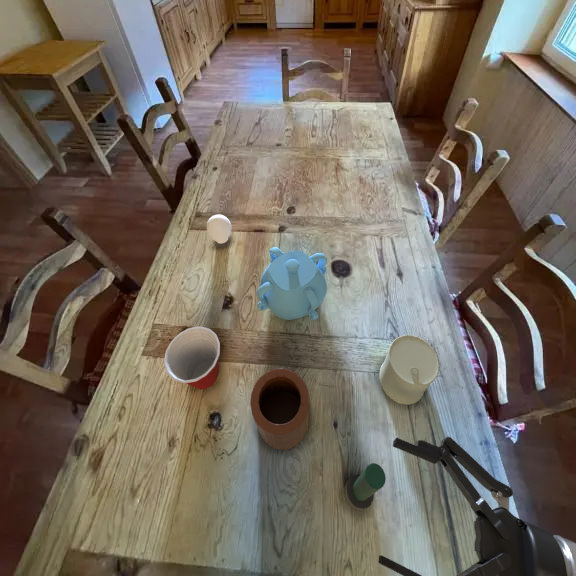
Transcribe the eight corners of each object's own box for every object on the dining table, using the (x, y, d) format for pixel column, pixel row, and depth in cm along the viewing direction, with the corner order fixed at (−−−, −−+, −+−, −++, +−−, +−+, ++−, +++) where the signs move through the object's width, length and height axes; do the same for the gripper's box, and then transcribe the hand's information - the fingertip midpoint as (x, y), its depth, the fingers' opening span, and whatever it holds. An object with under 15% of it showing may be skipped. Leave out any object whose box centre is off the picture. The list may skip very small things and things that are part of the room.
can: (380, 401, 69) (390, 381, 61) (378, 354, 75) (387, 330, 67) (427, 408, 68) (444, 388, 59) (421, 359, 74) (435, 336, 66)
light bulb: (227, 230, 103) (221, 205, 95) (239, 244, 99) (233, 219, 91) (207, 241, 100) (199, 216, 92) (218, 256, 96) (210, 231, 88)
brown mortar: (298, 459, 63) (297, 445, 54) (249, 437, 65) (240, 420, 56) (314, 401, 69) (316, 380, 60) (269, 383, 72) (264, 360, 63)
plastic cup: (213, 338, 79) (202, 314, 71) (239, 376, 73) (230, 354, 65) (170, 371, 74) (153, 349, 66) (194, 414, 68) (179, 396, 60)
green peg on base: (367, 516, 57) (390, 505, 42) (341, 504, 58) (354, 489, 43) (372, 483, 60) (395, 462, 45) (347, 472, 61) (361, 448, 46)
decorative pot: (315, 335, 79) (317, 307, 70) (251, 315, 83) (245, 285, 74) (331, 277, 90) (335, 245, 81) (274, 261, 94) (272, 230, 85)
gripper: (557, 724, 38) (368, 618, 44) (529, 461, 55) (395, 409, 61) (596, 752, 33) (377, 628, 39) (552, 452, 50) (403, 397, 56)
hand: (387, 495), depth 50 cm, fingers open, 13 cm apart
